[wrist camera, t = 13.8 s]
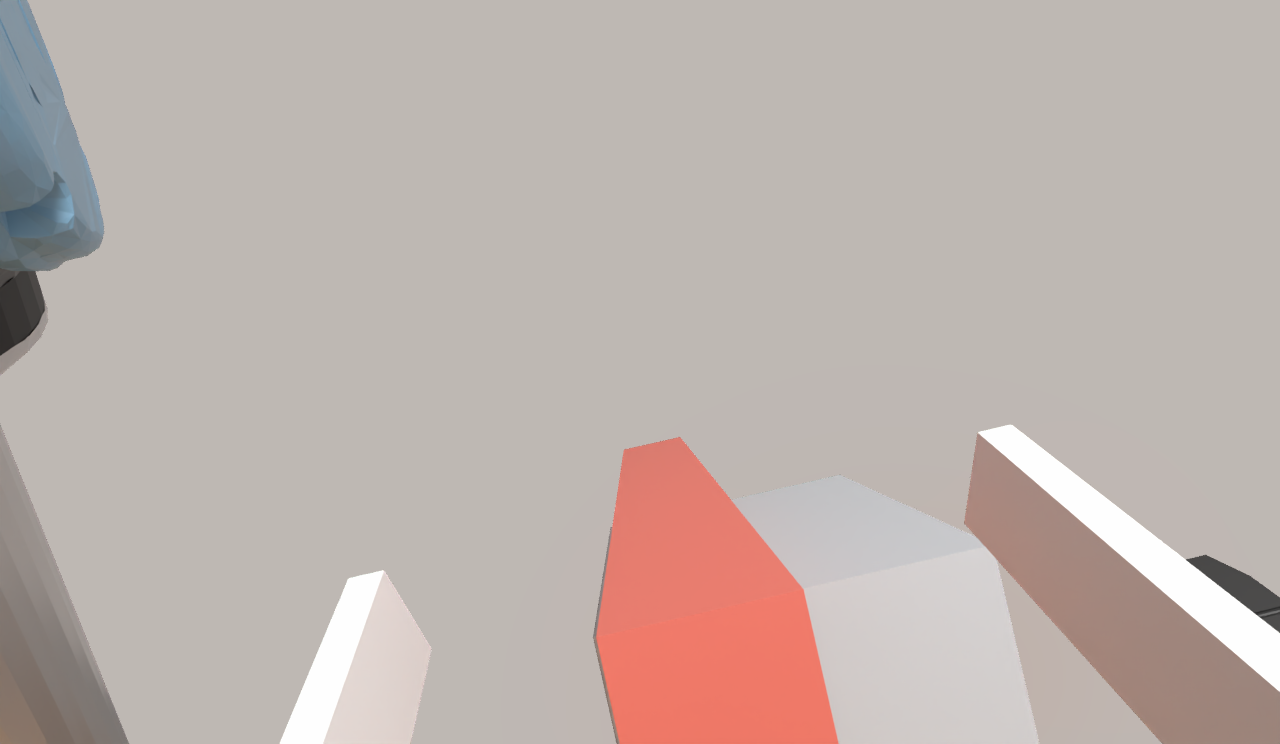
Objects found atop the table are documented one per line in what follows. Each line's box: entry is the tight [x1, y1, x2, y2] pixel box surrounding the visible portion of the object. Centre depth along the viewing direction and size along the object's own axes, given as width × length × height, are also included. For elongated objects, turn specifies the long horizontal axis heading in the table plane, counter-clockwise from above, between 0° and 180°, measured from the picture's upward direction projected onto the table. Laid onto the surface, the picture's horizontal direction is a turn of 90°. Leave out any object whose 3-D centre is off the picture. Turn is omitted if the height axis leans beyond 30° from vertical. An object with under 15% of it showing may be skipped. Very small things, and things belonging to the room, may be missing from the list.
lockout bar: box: [596, 437, 839, 744], centre depth 24 cm, size 28×4×4 cm, turn 1°
